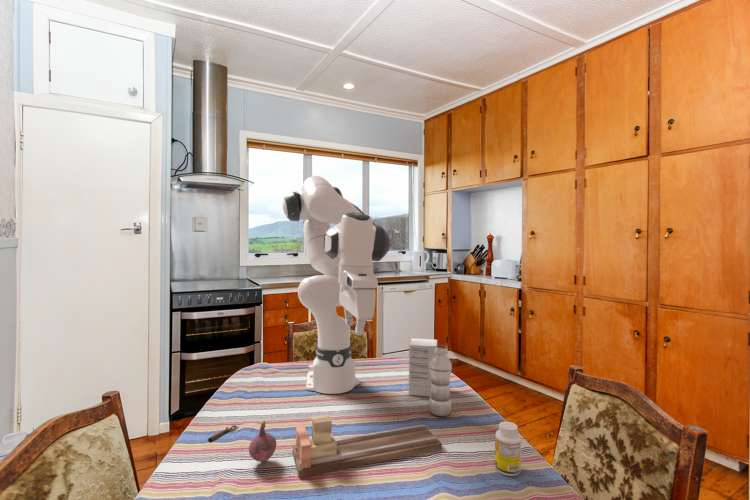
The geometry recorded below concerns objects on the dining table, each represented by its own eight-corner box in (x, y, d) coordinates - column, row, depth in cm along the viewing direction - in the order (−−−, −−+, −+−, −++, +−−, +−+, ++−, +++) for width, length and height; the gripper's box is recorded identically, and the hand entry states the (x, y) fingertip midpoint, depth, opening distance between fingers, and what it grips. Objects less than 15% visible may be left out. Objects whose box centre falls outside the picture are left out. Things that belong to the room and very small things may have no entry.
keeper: (306, 449, 91) (306, 416, 91) (331, 445, 93) (331, 412, 93) (310, 461, 86) (310, 425, 86) (336, 456, 88) (336, 421, 88)
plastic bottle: (451, 420, 110) (452, 351, 109) (427, 417, 111) (428, 349, 111) (451, 410, 116) (452, 345, 115) (429, 408, 118) (430, 343, 117)
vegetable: (250, 473, 84) (250, 429, 84) (247, 458, 90) (247, 416, 89) (278, 467, 86) (278, 424, 86) (274, 453, 92) (274, 412, 92)
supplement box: (436, 397, 125) (437, 346, 125) (408, 395, 127) (408, 345, 126) (436, 386, 135) (437, 339, 134) (410, 384, 136) (411, 337, 136)
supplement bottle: (500, 459, 91) (501, 417, 90) (524, 469, 87) (525, 424, 87) (490, 470, 86) (491, 425, 86) (515, 480, 83) (516, 434, 82)
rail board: (292, 452, 92) (292, 426, 92) (423, 430, 104) (423, 406, 104) (298, 477, 83) (298, 448, 83) (441, 449, 95) (442, 423, 94)
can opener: (210, 443, 97) (210, 438, 97) (204, 440, 98) (204, 435, 98) (240, 428, 104) (240, 424, 104) (235, 426, 106) (235, 422, 105)
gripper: (334, 271, 107) (333, 320, 108) (354, 282, 88) (352, 341, 89) (356, 271, 109) (354, 318, 110) (380, 282, 90) (378, 339, 91)
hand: (354, 329), depth 100 cm, fingers open, 8 cm apart
